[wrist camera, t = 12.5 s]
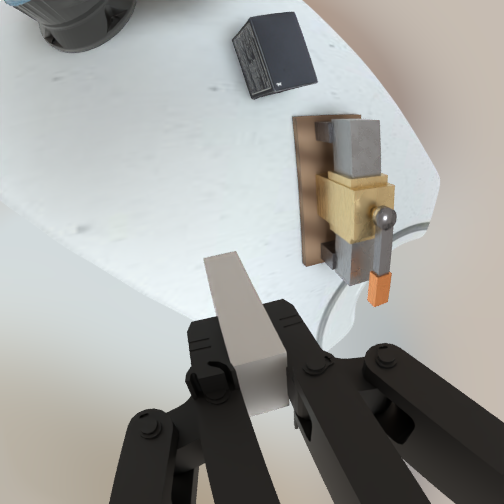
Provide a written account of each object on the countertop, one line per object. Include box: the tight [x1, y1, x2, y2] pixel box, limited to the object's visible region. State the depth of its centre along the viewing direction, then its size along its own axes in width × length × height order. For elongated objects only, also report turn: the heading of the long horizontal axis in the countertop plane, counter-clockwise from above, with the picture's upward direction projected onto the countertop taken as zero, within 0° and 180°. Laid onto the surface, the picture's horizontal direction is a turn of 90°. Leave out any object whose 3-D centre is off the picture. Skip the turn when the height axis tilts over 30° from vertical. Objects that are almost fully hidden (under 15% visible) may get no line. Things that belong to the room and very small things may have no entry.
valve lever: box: [367, 205, 397, 307], centre depth 39 cm, size 15×3×2 cm, turn 8°
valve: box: [314, 119, 395, 286], centre depth 42 cm, size 25×7×13 cm, turn 7°
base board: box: [293, 115, 361, 267], centre depth 49 cm, size 26×12×2 cm, turn 7°
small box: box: [232, 12, 318, 100], centre depth 33 cm, size 11×6×10 cm, turn 17°
